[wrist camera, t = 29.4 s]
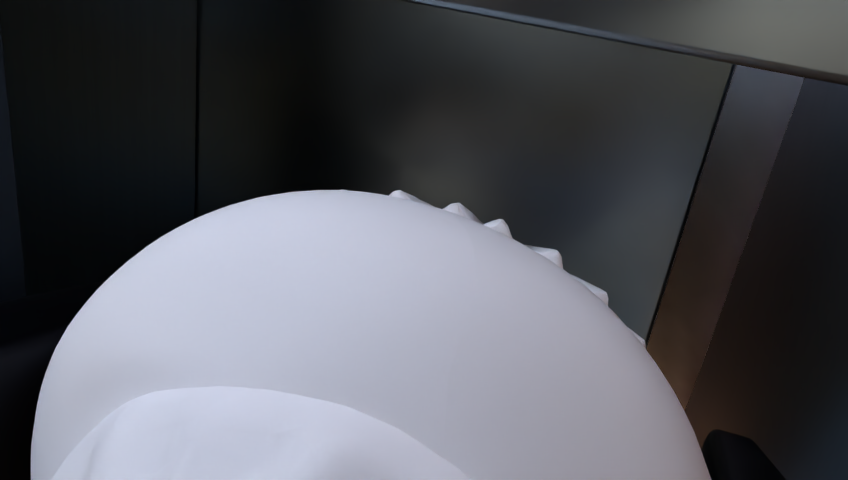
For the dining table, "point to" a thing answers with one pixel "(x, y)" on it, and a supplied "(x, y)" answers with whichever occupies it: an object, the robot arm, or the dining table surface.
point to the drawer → (464, 152)
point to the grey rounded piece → (354, 357)
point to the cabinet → (9, 203)
